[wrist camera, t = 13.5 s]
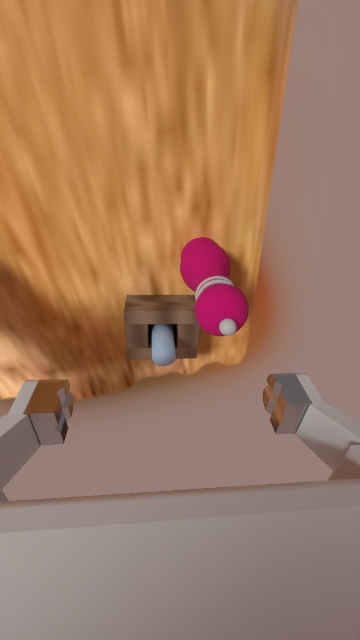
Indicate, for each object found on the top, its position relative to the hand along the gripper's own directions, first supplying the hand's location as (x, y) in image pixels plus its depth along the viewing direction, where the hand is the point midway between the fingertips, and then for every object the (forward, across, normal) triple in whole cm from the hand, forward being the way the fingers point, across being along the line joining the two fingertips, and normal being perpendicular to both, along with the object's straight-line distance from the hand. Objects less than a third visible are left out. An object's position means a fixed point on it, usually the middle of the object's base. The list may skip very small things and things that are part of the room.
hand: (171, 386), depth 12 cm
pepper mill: (+34, -7, +8) cm, 36 cm away
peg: (+34, -1, +20) cm, 40 cm away
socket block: (+34, -1, +20) cm, 39 cm away
